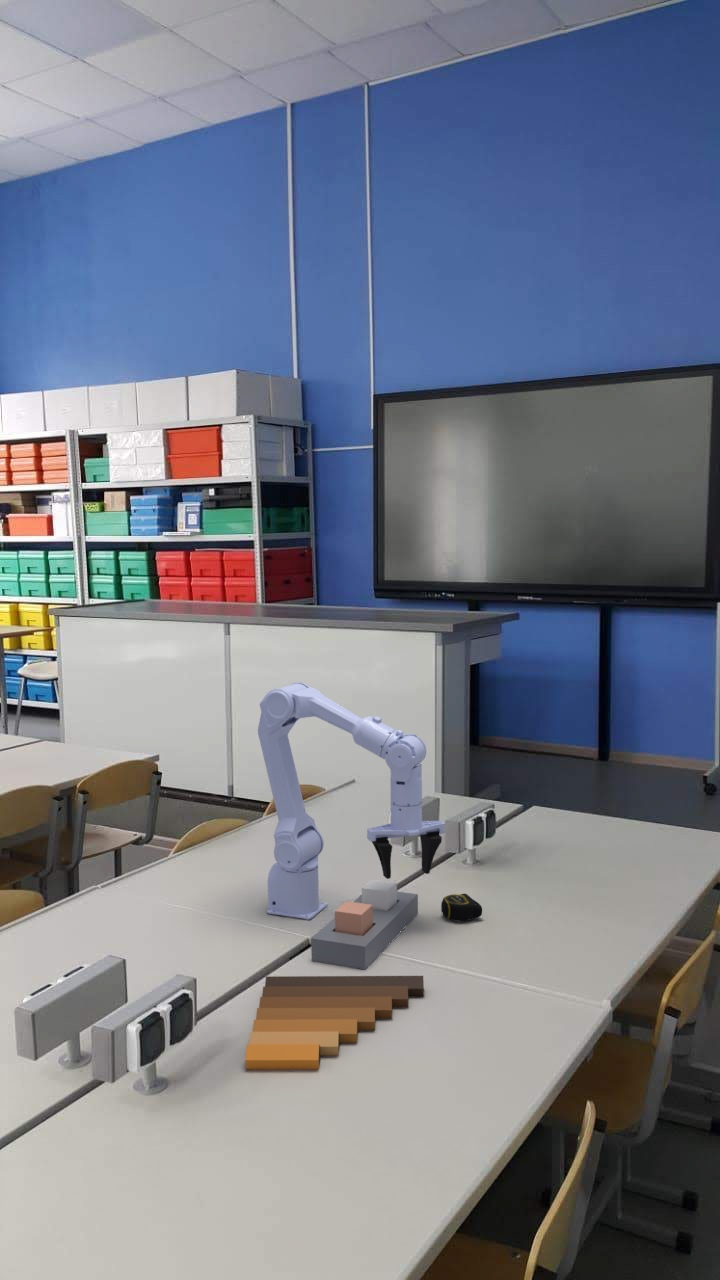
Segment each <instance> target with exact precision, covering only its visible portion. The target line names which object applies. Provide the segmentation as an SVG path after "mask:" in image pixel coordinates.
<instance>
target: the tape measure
mask: <svg viewBox="0 0 720 1280" xmlns="http://www.w3.org/2000/svg"><path fill="white" fill-rule="evenodd" d="M440 904H441V905H440V906H441V907H440V909H441V911H440V912H441V913H442V915H443V917H444V918H446V919H448V920H452V921H455V922H467V921H471V920H473V919H474V920H475V919H477V918H479V917H481V916H482V914H483V907H482V905H481V904H480V903H479V902H478V901H476V900H475V899H474V898H472V897H471V896H469V895H468V894H467V893H461V894H455V893H454V894H453V893H452V894H449V895H446V896H444V897H443V899H442V901H441V903H440Z"/></svg>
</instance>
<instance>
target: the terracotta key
mask: <svg viewBox="0 0 720 1280" xmlns="http://www.w3.org/2000/svg"><path fill="white" fill-rule="evenodd" d="M334 918H335V932H340V933H347V934H353V935H360V936H364V935H365V934H366V933H367V932H368V931H369V930H370V929H371V928H372V927H373V906H372V905H371V904H363V903H356V902H354V901H348V900H346V901H345V902H344V903H343V904H342V905H340V906H339V907H338V908H337V909H335V910H334Z"/></svg>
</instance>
